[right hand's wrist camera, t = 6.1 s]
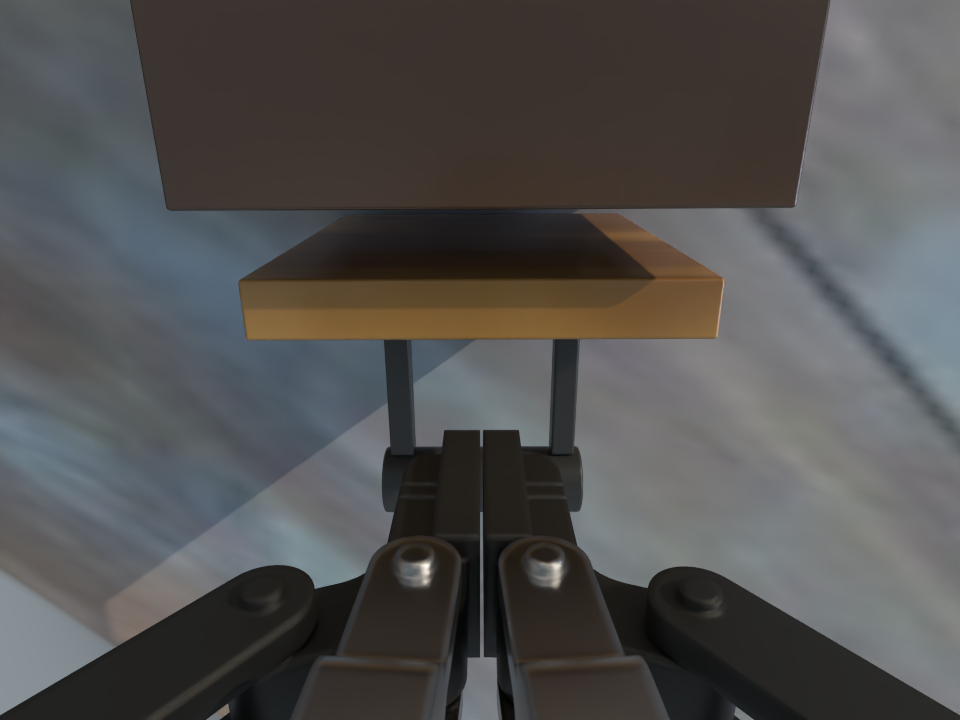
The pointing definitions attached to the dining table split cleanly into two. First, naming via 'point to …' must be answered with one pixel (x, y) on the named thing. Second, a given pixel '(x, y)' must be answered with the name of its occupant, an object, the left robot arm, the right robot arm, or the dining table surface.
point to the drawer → (482, 301)
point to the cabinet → (479, 102)
